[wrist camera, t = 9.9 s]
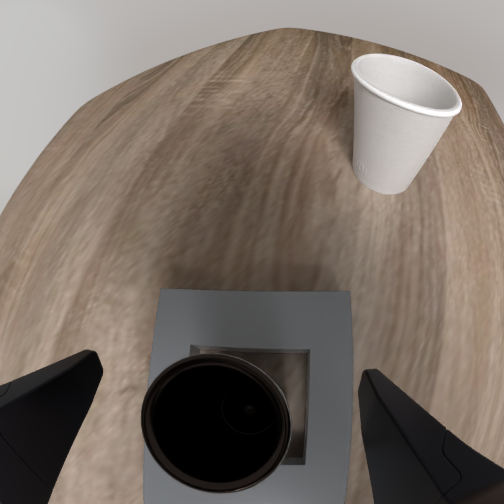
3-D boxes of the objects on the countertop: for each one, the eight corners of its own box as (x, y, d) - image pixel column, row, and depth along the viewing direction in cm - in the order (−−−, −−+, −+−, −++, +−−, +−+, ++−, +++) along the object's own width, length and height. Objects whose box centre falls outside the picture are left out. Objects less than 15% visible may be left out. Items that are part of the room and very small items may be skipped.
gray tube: (233, 451, 15) (176, 508, 6) (203, 390, 17) (119, 382, 8) (299, 422, 15) (319, 460, 6) (267, 362, 17) (248, 327, 8)
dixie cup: (367, 219, 21) (403, 117, 12) (322, 149, 25) (329, 54, 16) (438, 194, 22) (482, 110, 13) (390, 135, 26) (411, 53, 17)
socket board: (330, 543, 10) (334, 555, 9) (156, 526, 12) (145, 536, 10) (343, 301, 19) (350, 290, 17) (171, 297, 20) (160, 288, 18)
